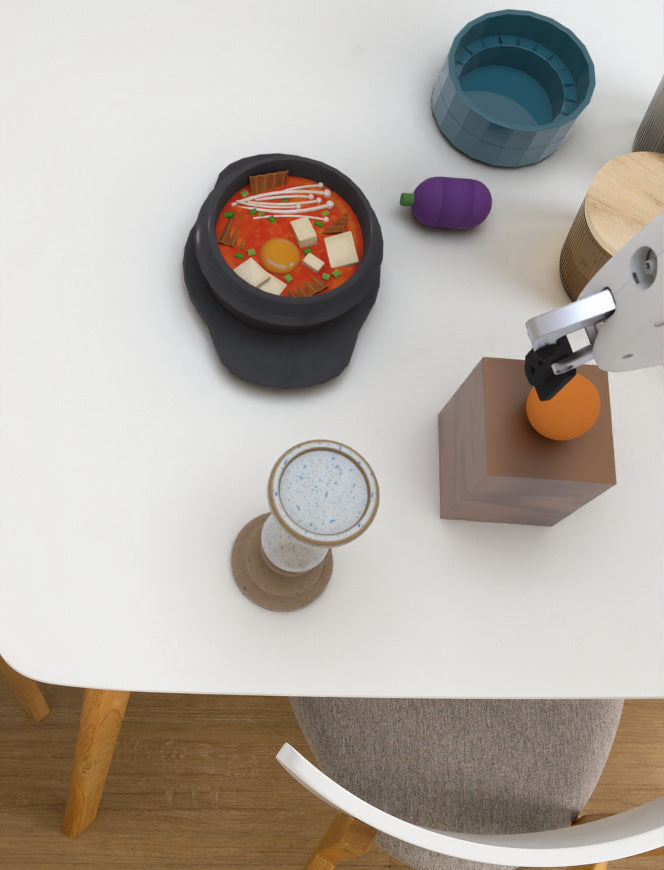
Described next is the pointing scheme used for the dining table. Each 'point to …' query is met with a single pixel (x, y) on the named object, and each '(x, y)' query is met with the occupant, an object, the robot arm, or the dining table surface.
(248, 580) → the candle holder
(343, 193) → the casserole
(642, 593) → the dining table surface
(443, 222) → the toy eggplant
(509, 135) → the bowl
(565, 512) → the cube
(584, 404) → the toy orange
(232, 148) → the dining table surface
